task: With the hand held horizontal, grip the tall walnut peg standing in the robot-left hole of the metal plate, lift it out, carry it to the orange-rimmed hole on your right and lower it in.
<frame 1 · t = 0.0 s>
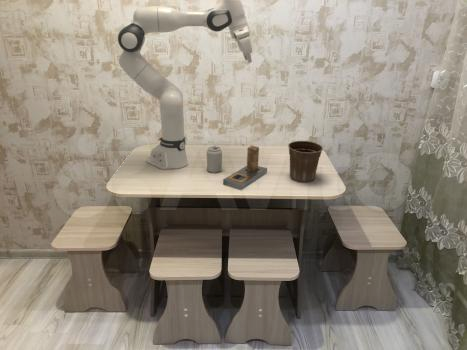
hand: (248, 60, 189), 52 cm above the table, tool tilted 20°, fingers open, 8 cm apart
plant pot: (302, 177, 192), on the table
metal plate: (245, 178, 190), on the table
can: (214, 170, 198), on the table
walnut peg: (252, 174, 195), resting in metal plate
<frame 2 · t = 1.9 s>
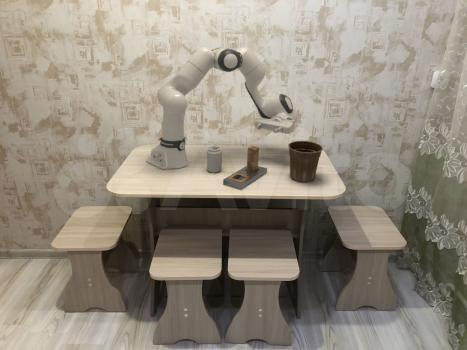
hand: (266, 129, 196), 20 cm above the table, tool horizontal, fingers open, 8 cm apart
nothing on the table moved.
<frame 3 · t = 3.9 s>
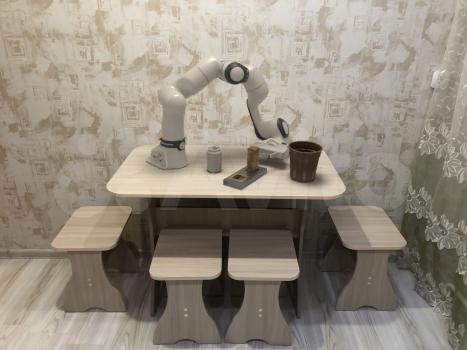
hand: (261, 154, 198), 8 cm above the table, tool horizontal, fingers open, 8 cm apart
nothing on the table moved.
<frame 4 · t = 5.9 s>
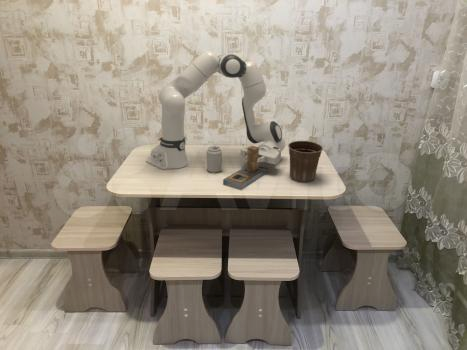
hand: (251, 159, 191), 8 cm above the table, tool horizontal, fingers closed on walnut peg, 4 cm apart
walnut peg: (252, 174, 195), resting in metal plate, touching gripper
everything else where it was.
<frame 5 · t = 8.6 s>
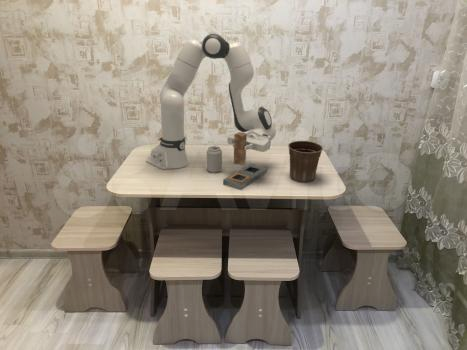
hand: (239, 147, 178), 18 cm above the table, tool horizontal, fingers closed on walnut peg, 4 cm apart
walnut peg: (239, 162, 182), point 10 cm above the table, touching gripper
everything else where it was.
when the fingers open (9 cm above the table, at t = 11.0 s): walnut peg drops 1 cm, resting in metal plate.
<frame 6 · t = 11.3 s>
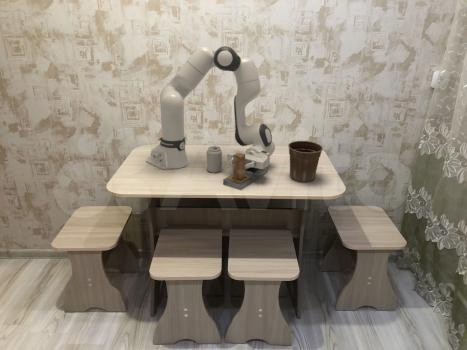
hand: (238, 164, 181), 9 cm above the table, tool horizontal, fingers open, 7 cm apart
walnut peg: (238, 182, 186), resting in metal plate
everything else where it was.
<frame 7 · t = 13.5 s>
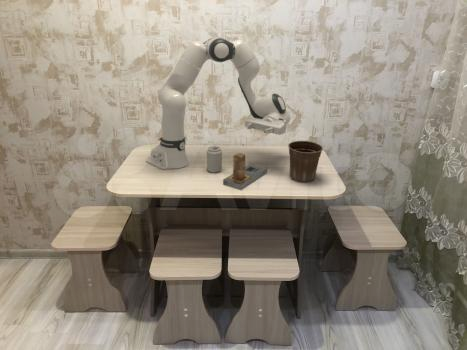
hand: (256, 129, 188), 22 cm above the table, tool horizontal, fingers open, 8 cm apart
nothing on the table moved.
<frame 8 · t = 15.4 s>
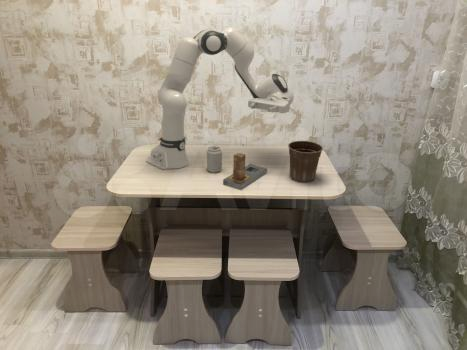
hand: (260, 108, 186), 32 cm above the table, tool horizontal, fingers open, 8 cm apart
nothing on the table moved.
at the end: walnut peg 0.1 cm from the target spot on the metal plate, point 0.0 cm above the metal plate's base; walnut peg tilted 0°; the gripper is holding nothing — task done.
